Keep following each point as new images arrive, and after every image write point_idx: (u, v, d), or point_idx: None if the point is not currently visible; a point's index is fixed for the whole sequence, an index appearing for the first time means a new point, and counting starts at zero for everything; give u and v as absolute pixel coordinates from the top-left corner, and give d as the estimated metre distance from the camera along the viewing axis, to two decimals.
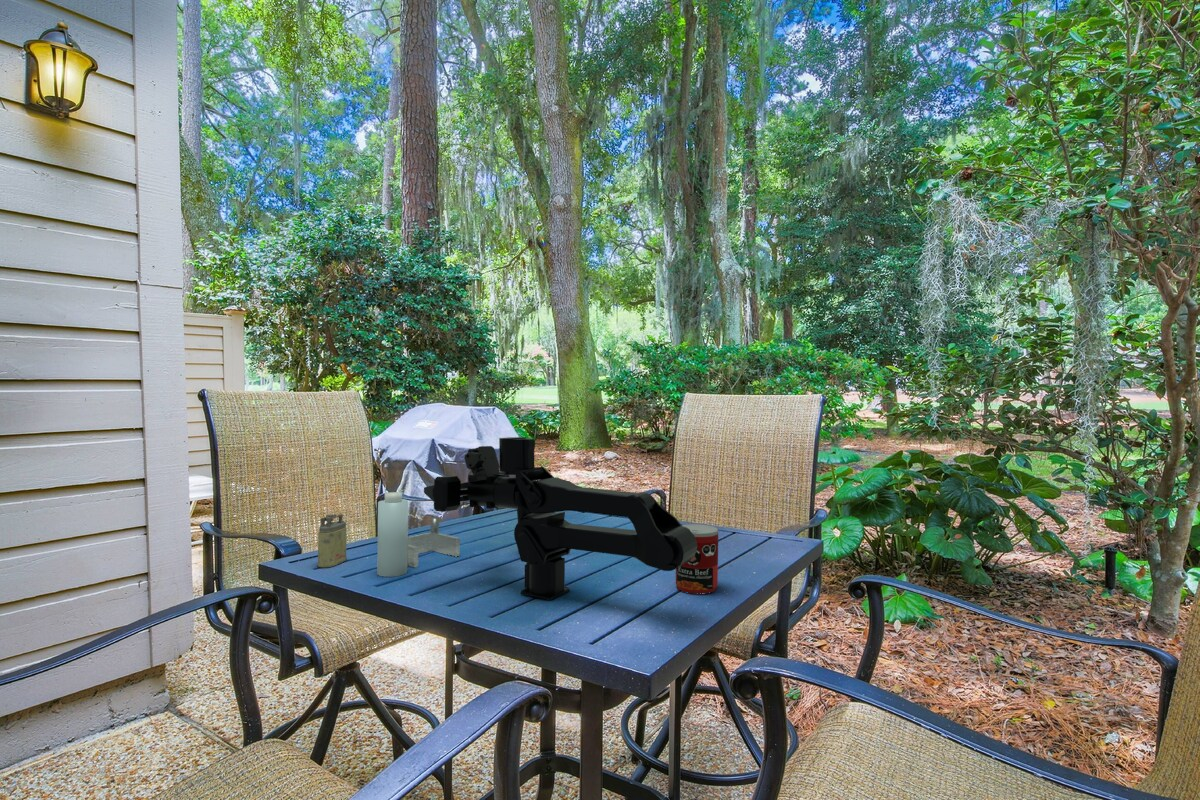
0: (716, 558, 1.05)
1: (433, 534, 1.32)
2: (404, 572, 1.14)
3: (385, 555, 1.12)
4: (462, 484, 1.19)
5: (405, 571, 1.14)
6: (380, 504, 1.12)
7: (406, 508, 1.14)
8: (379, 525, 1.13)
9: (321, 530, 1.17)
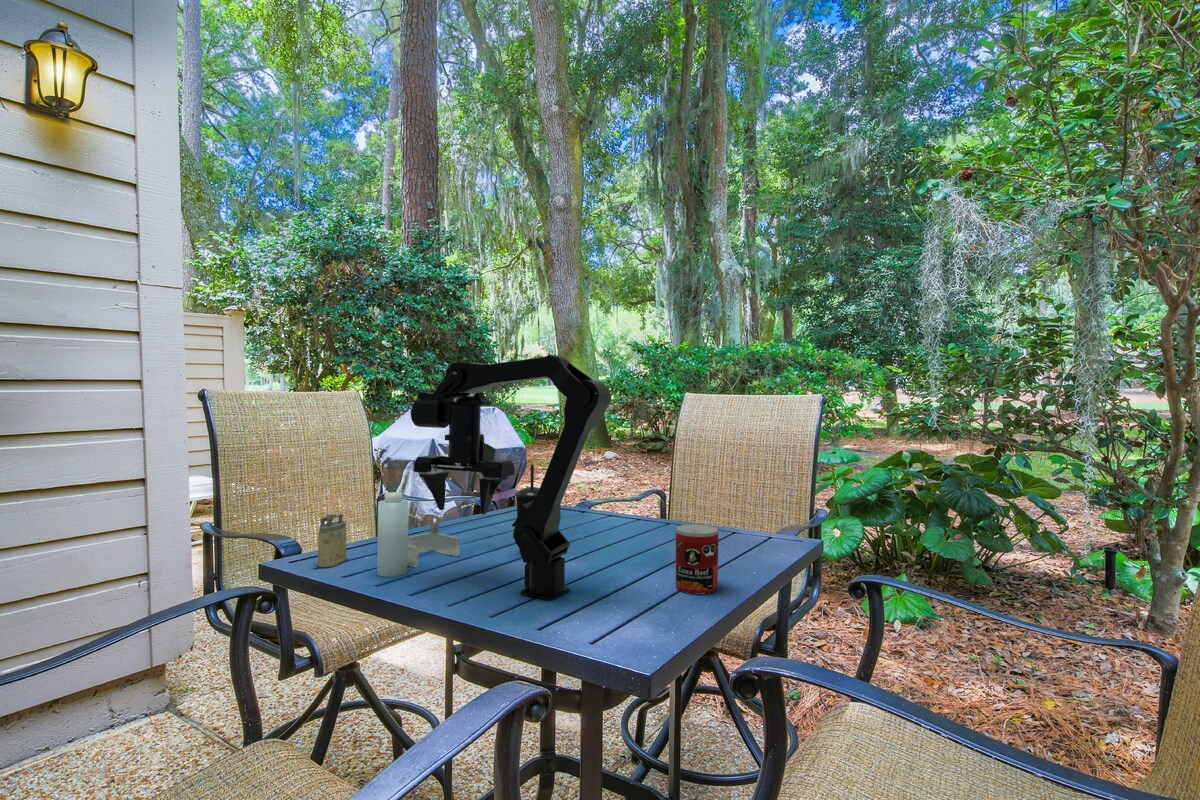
0: (716, 558, 1.05)
1: (433, 534, 1.32)
2: (404, 572, 1.14)
3: (385, 555, 1.12)
4: None
5: (405, 571, 1.14)
6: (380, 504, 1.12)
7: (406, 508, 1.14)
8: (379, 525, 1.13)
9: (321, 530, 1.17)
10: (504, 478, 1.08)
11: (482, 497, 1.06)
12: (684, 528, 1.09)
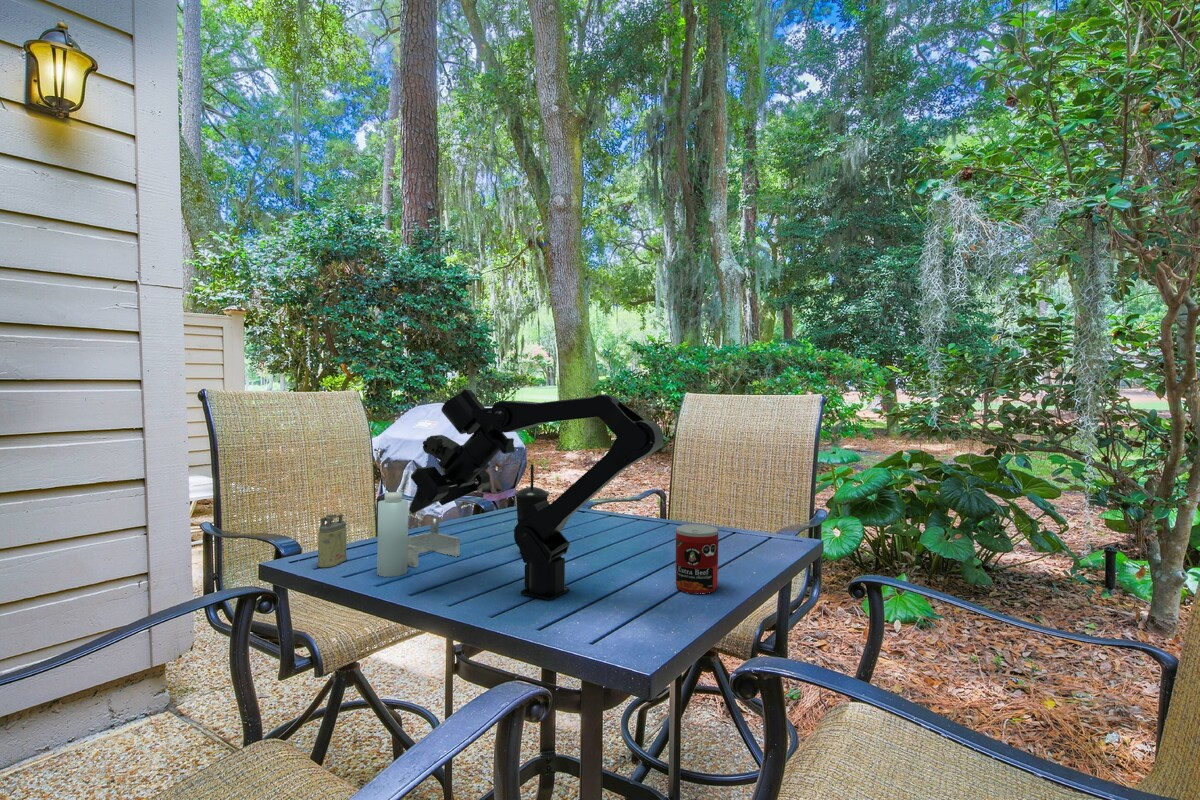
0: (716, 558, 1.05)
1: (433, 534, 1.32)
2: (404, 572, 1.14)
3: (385, 555, 1.12)
4: (442, 497, 1.16)
5: (405, 571, 1.14)
6: (380, 504, 1.12)
7: (406, 508, 1.14)
8: (379, 525, 1.13)
9: (321, 530, 1.17)
10: None
11: (458, 498, 1.16)
12: (684, 528, 1.09)
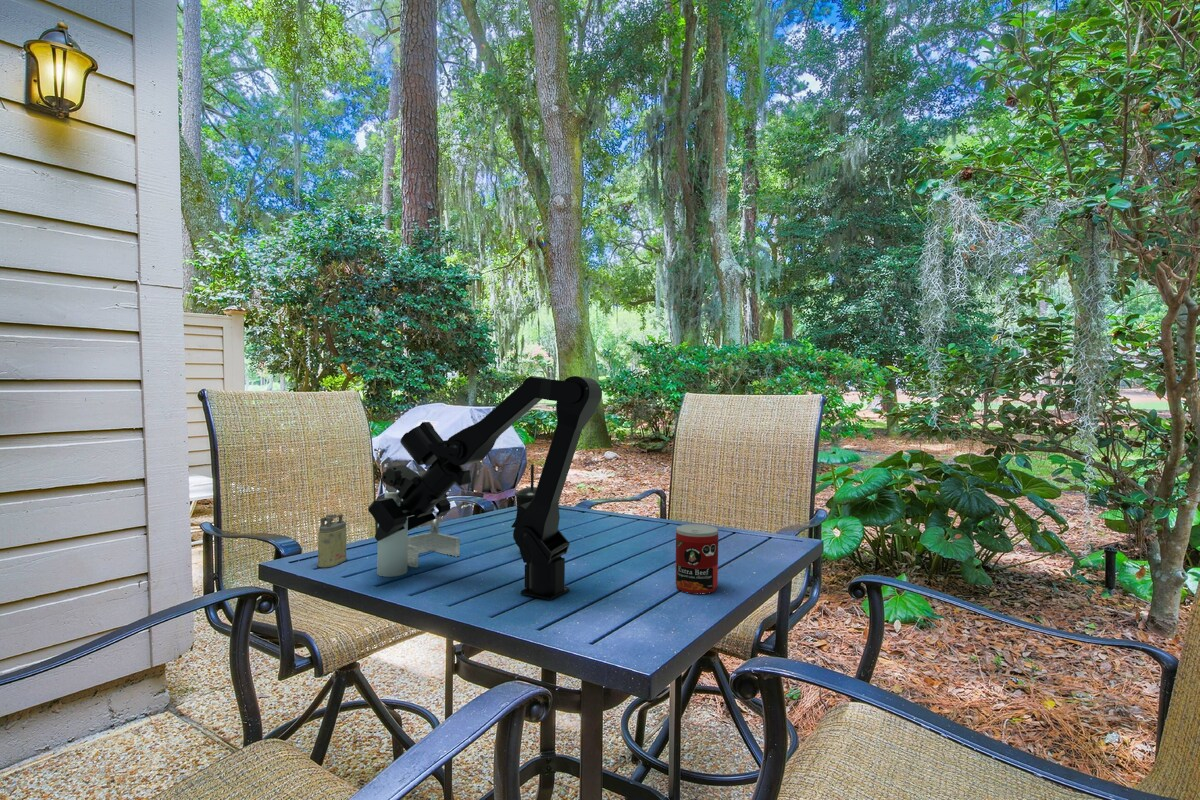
0: (716, 558, 1.05)
1: (433, 534, 1.32)
2: (404, 572, 1.14)
3: (385, 555, 1.12)
4: None
5: (405, 571, 1.14)
6: None
7: None
8: None
9: (321, 530, 1.17)
10: None
11: (414, 527, 1.17)
12: (684, 528, 1.09)
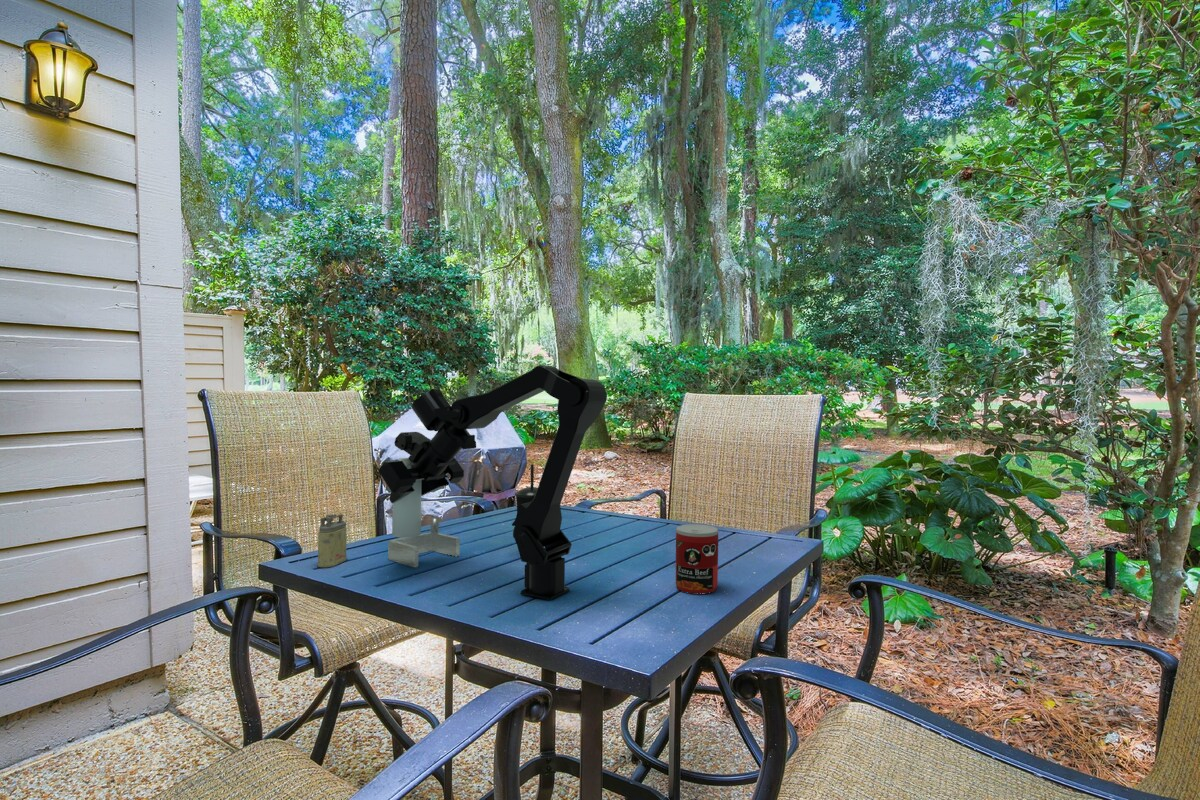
0: (716, 558, 1.05)
1: (433, 534, 1.32)
2: (417, 534, 1.18)
3: (398, 517, 1.17)
4: None
5: (418, 533, 1.19)
6: None
7: None
8: None
9: (321, 530, 1.17)
10: None
11: (428, 492, 1.22)
12: (684, 528, 1.09)
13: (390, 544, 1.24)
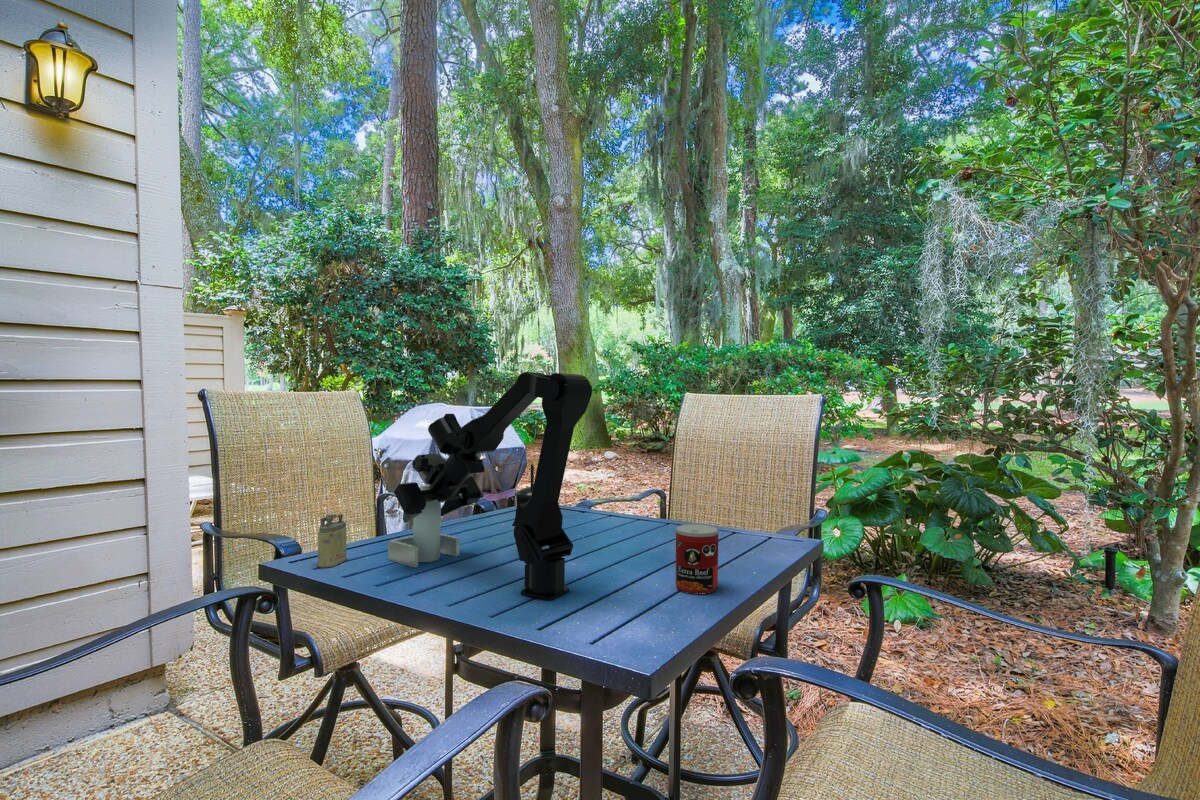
0: (716, 558, 1.05)
1: None
2: (434, 559, 1.24)
3: (417, 542, 1.23)
4: (441, 509, 1.29)
5: (436, 558, 1.24)
6: None
7: (437, 500, 1.24)
8: None
9: (321, 530, 1.17)
10: None
11: None
12: (684, 528, 1.09)
13: (390, 544, 1.24)
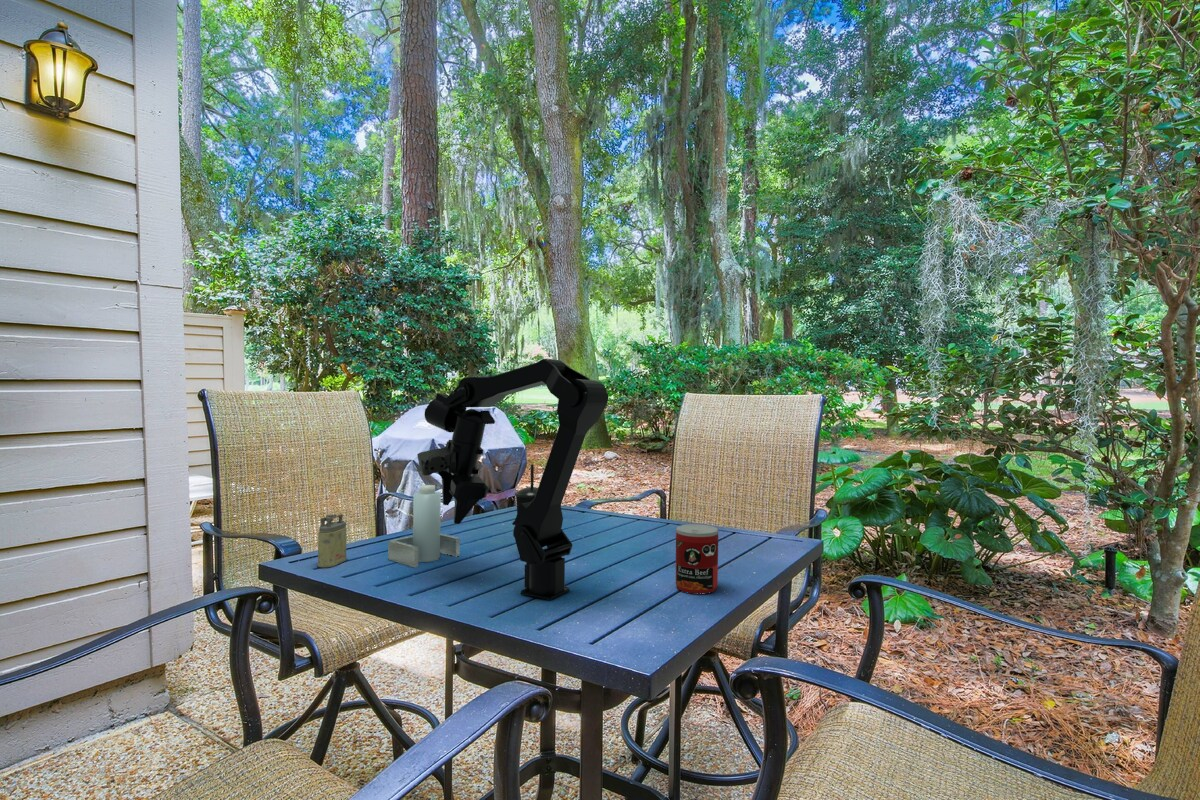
0: (716, 558, 1.05)
1: None
2: (434, 559, 1.24)
3: (417, 542, 1.23)
4: (444, 499, 1.20)
5: (436, 558, 1.24)
6: (414, 495, 1.24)
7: (437, 500, 1.24)
8: (413, 514, 1.24)
9: (321, 530, 1.17)
10: None
11: None
12: (684, 528, 1.09)
13: (390, 544, 1.24)
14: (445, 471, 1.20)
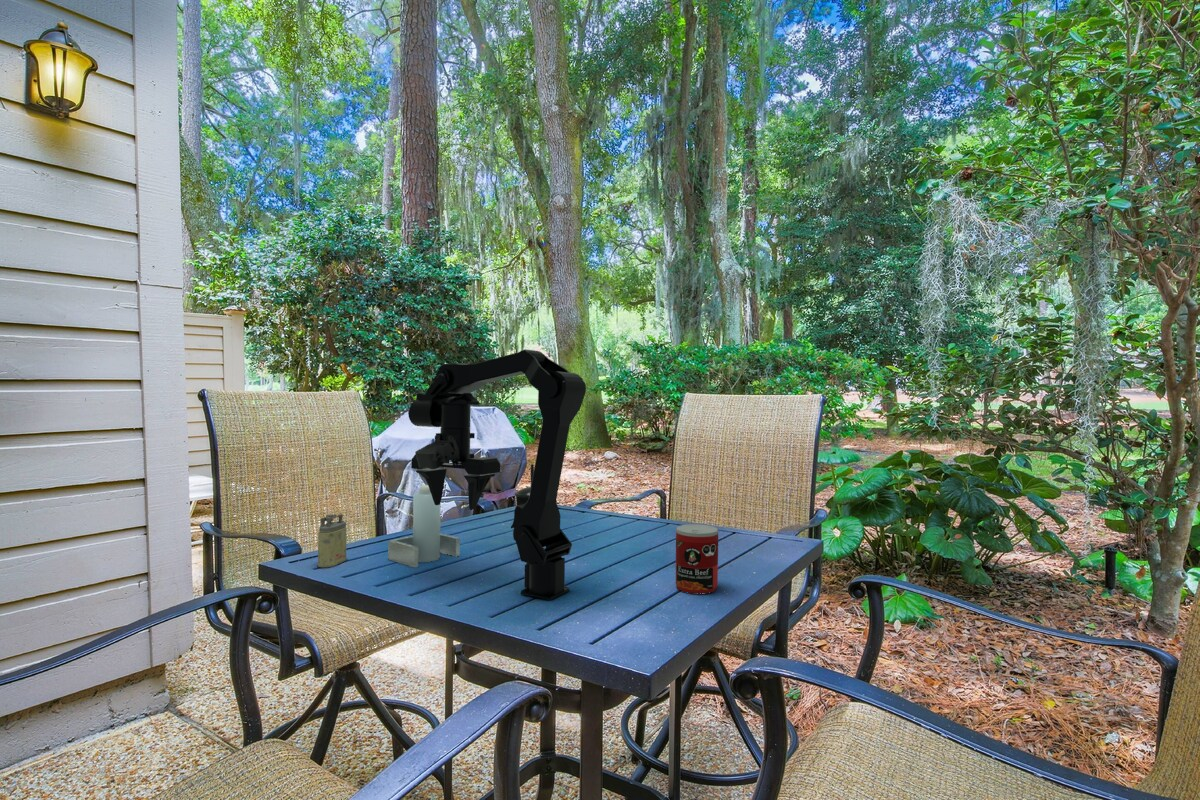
0: (716, 558, 1.05)
1: None
2: (434, 559, 1.24)
3: (417, 542, 1.23)
4: (436, 498, 1.16)
5: (436, 558, 1.24)
6: (414, 495, 1.24)
7: None
8: (413, 514, 1.24)
9: (321, 530, 1.17)
10: None
11: None
12: (684, 528, 1.09)
13: (390, 544, 1.24)
14: (430, 470, 1.16)
